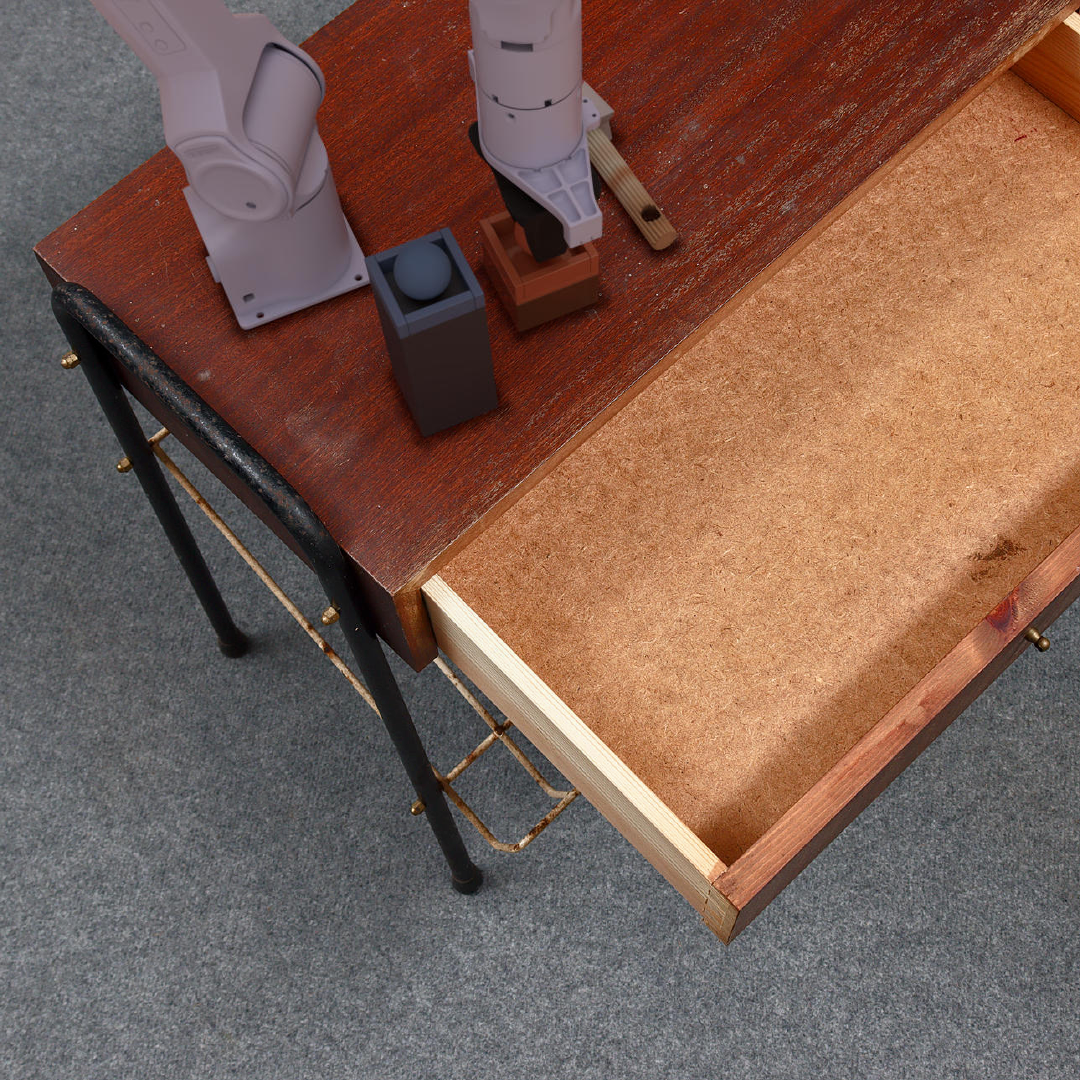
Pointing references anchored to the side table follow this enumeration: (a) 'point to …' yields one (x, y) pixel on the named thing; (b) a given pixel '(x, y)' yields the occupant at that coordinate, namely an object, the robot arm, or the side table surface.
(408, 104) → the side table surface
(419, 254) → the slate ball
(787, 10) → the side table surface
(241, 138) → the robot arm
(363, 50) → the side table surface
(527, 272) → the terracotta cup
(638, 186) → the paintbrush
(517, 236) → the terracotta ball
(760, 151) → the side table surface
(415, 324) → the slate stand
